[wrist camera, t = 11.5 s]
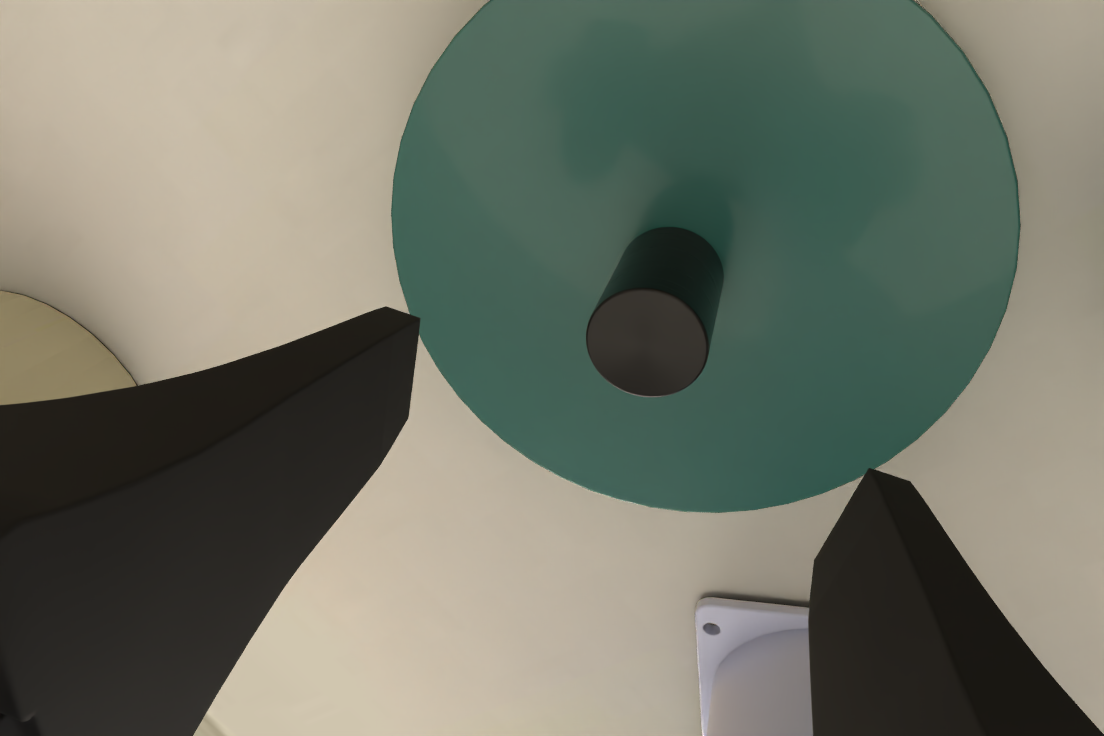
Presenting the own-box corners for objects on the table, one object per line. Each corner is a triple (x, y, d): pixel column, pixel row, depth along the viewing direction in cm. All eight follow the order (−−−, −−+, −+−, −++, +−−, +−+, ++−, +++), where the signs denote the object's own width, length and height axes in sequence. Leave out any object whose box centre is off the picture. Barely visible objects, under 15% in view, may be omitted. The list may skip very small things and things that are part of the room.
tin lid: (963, 505, 20) (1001, 644, 16) (465, 472, 24) (403, 576, 20) (1068, -140, 13) (1177, -161, 9) (348, -26, 17) (222, -9, 13)
